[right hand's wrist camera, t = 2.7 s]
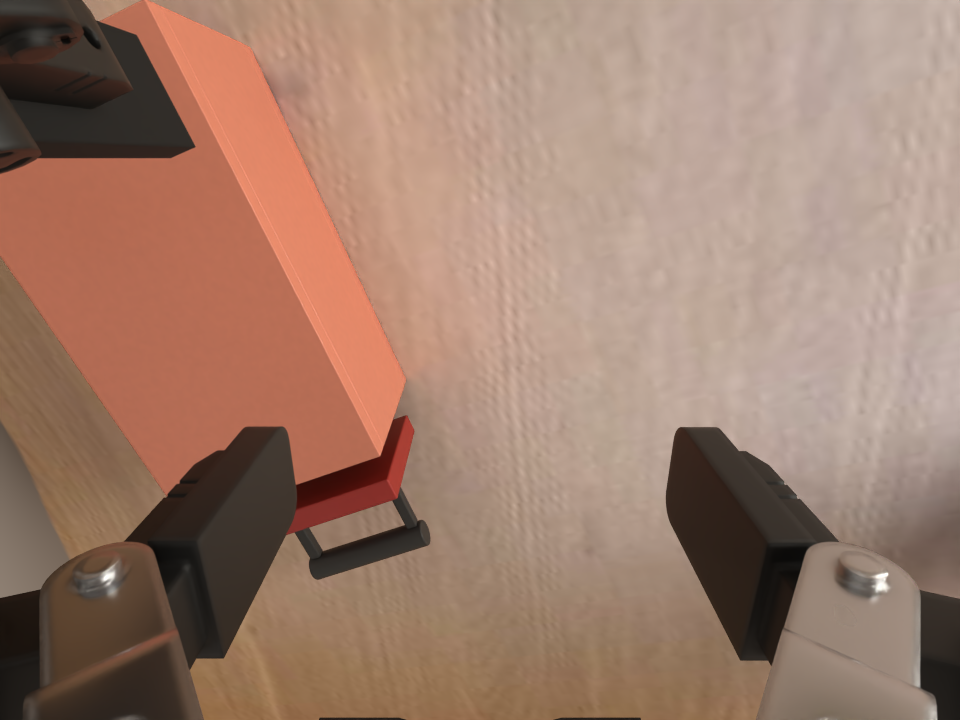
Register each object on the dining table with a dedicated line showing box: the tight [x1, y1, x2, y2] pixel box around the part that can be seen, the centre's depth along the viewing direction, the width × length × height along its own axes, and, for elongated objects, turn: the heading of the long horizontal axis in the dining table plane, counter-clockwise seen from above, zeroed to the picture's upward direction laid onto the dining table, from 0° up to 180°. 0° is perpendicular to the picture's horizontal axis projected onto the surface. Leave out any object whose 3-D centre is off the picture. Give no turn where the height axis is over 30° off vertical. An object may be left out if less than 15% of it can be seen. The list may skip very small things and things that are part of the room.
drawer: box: [286, 415, 430, 580], centre depth 28 cm, size 23×9×7 cm, turn 21°
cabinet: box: [0, 0, 406, 496], centre depth 26 cm, size 19×10×9 cm, turn 21°
